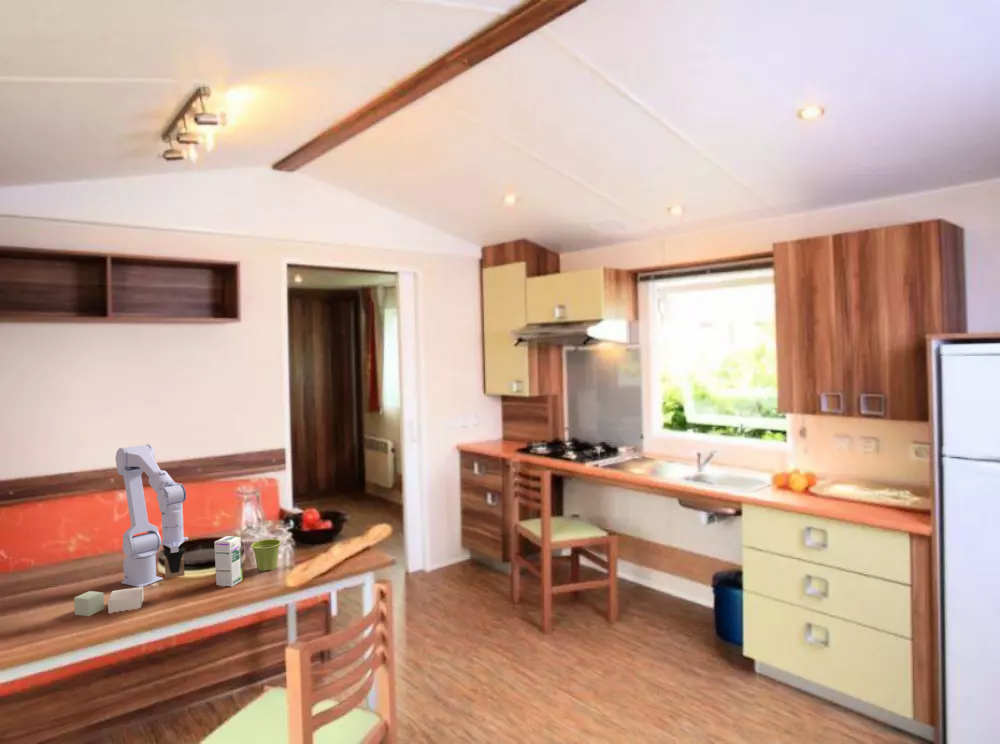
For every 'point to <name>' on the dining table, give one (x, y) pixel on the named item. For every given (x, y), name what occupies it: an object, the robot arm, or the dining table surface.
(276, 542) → the plant pot
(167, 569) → the walnut block
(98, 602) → the sage green block
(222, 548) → the syrup box
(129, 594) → the base block
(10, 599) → the dining table surface
